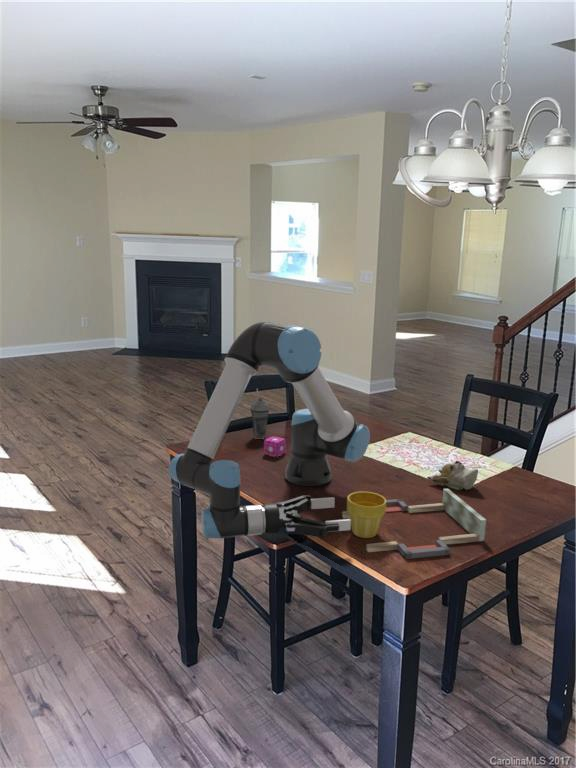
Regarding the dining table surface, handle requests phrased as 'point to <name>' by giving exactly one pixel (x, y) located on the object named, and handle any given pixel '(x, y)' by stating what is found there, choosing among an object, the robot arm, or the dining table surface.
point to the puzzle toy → (274, 445)
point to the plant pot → (365, 513)
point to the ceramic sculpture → (456, 475)
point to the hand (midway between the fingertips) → (342, 512)
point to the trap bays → (419, 550)
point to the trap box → (455, 509)
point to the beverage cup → (259, 417)
